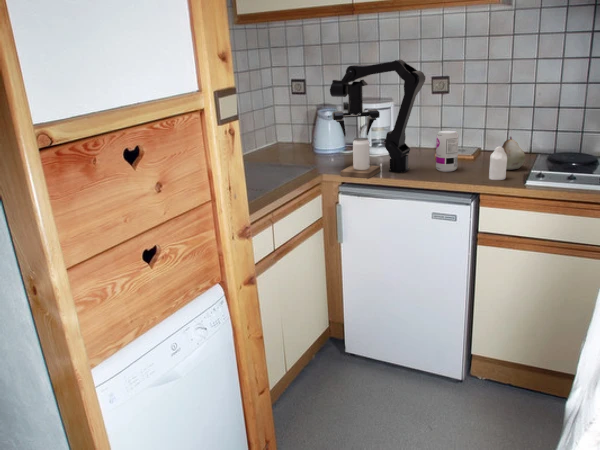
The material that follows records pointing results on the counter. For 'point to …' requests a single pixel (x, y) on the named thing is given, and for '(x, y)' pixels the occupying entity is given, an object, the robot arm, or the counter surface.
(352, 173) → the base
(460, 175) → the counter surface
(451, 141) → the supplement can
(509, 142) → the fruit
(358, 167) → the can
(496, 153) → the white bottle
